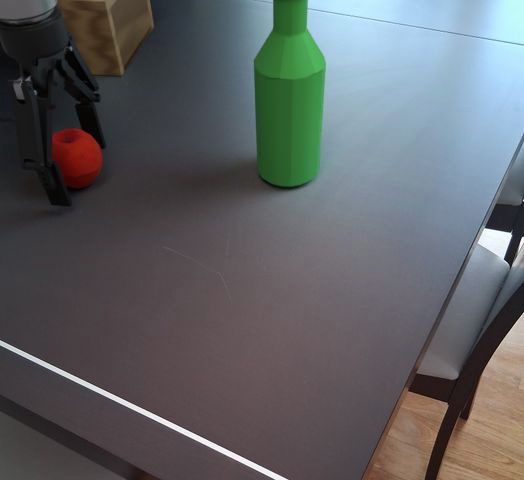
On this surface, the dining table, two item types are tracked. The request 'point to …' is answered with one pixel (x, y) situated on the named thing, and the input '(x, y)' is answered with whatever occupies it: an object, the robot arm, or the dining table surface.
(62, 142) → the apple
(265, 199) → the dining table surface
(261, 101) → the bottle
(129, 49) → the wood grain cube
